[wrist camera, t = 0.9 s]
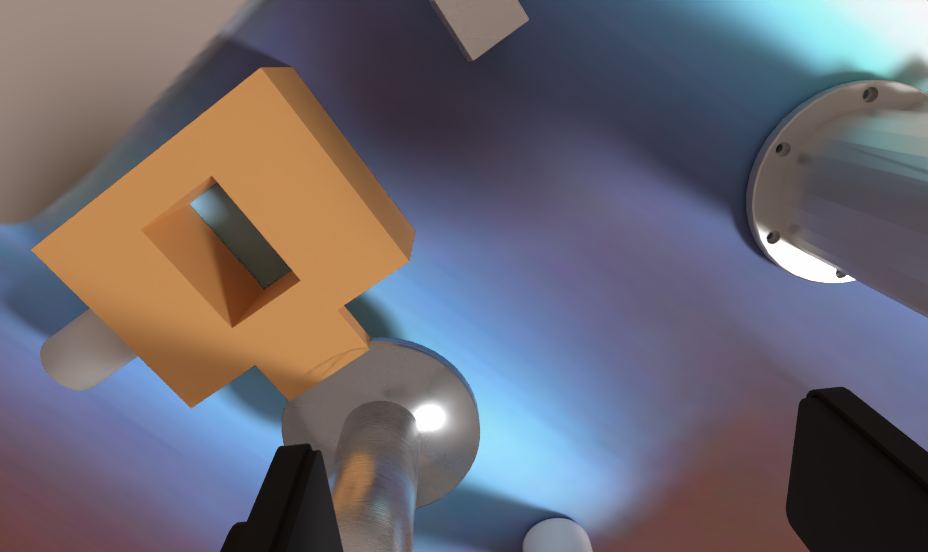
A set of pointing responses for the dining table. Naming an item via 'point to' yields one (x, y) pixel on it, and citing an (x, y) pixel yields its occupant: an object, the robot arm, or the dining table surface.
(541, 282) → the dining table surface
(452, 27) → the white block
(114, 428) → the dining table surface
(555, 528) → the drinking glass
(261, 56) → the dining table surface
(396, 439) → the post
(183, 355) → the bracket head
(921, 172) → the robot arm
